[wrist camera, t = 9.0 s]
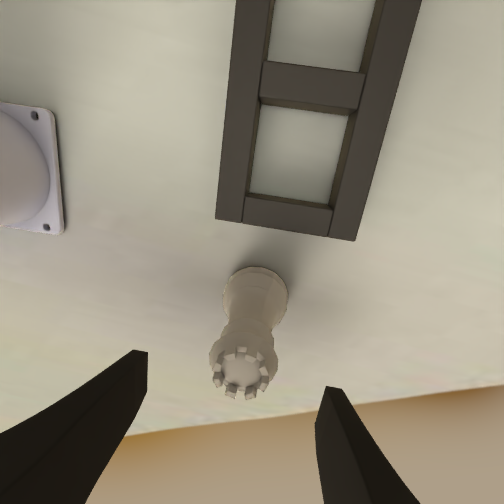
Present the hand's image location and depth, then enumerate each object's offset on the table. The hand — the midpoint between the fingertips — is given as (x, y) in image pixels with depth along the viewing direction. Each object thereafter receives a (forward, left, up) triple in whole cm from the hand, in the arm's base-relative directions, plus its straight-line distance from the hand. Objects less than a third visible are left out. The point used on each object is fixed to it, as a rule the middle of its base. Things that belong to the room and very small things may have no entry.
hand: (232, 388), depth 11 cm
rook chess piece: (0, 0, -9) cm, 9 cm away
